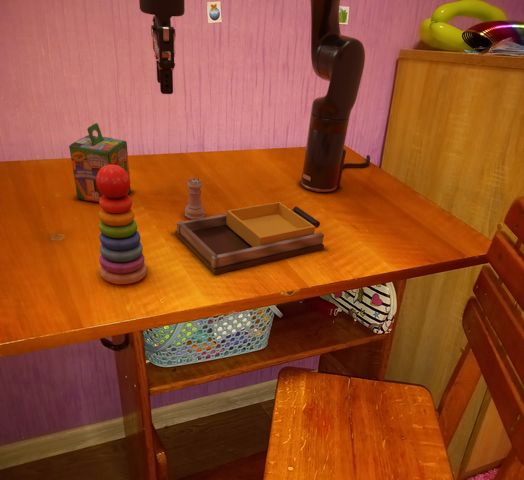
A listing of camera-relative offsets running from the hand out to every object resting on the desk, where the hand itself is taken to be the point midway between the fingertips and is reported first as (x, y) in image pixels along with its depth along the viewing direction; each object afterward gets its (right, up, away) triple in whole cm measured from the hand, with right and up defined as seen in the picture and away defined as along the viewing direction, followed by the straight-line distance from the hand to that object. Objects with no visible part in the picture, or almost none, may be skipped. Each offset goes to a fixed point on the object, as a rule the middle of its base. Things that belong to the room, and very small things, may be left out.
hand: (164, 88), depth 91 cm
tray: (+21, -24, +10) cm, 34 cm away
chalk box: (-17, -14, +20) cm, 30 cm away
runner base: (+16, -27, +8) cm, 32 cm away
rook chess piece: (+3, -20, +15) cm, 25 cm away
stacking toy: (-6, -36, -5) cm, 37 cm away
